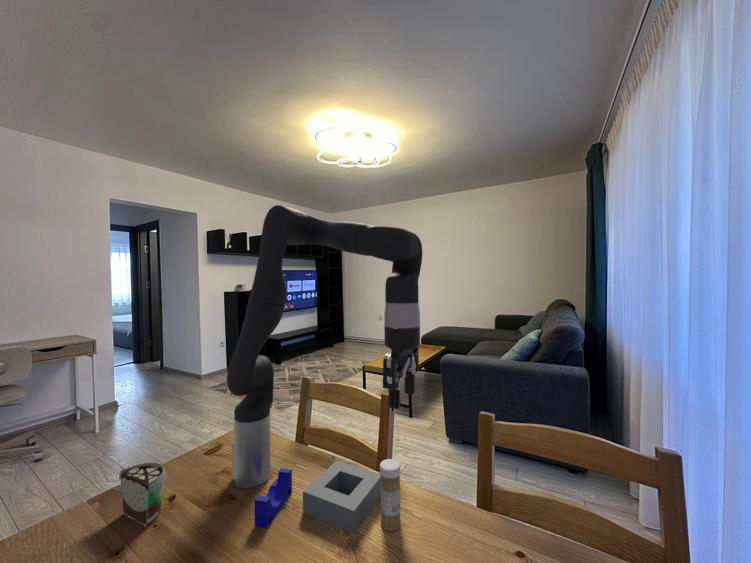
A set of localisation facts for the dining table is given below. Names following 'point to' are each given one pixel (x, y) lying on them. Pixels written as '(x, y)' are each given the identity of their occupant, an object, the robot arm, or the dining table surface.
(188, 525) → the dining table surface
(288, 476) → the cable clip
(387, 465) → the sprinkles bottle
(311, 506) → the well block
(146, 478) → the food container
